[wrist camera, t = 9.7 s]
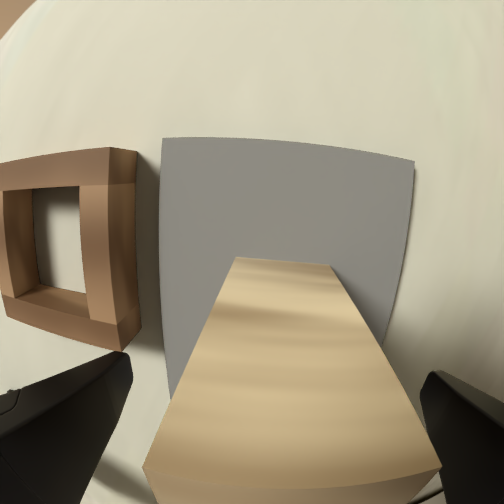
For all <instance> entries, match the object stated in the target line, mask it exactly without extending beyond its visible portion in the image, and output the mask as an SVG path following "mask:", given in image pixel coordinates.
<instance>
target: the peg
mask: <svg viewBox="0 0 504 504" xmlns="http://www.w3.org/2000/svg"><path fill="white" fill-rule="evenodd" d="M441 467H442V465H441V462H440V460H439V458H438V456H437V454H436V452H435V450H434V448H433V445H432V443H431V441H430V439H429V437H428V435H427V433H426V431H425V429H424V427H423V425H422V423H421V421H420V419H419V417H418V415H417V413H416V411H415V410H414V408H413V406H412V404H411V402H410V400H409V398H408V396H407V394H406V393H405V391H404V389H403V387H402V385H401V383H400V381H399V380H398V378H397V376H396V374H395V372H394V371H393V369H392V367H391V365H390V364H389V362H388V360H387V358H386V357H385V355H384V353H383V351H382V350H381V348H380V346H379V344H378V343H377V341H376V339H375V338H374V336H373V334H372V333H371V331H370V329H369V328H368V326H367V324H366V323H365V321H364V319H363V318H362V316H361V314H360V313H359V311H358V309H357V308H356V306H355V305H354V303H353V301H352V300H351V298H350V297H349V295H348V293H347V292H346V290H345V289H344V287H343V286H342V284H341V282H340V281H339V279H338V278H337V276H336V275H335V273H334V272H333V270H332V268H331V267H330V265H326V264H314V263H302V262H290V261H279V260H267V259H255V258H244V257H235V259H234V262H233V264H232V266H231V268H230V270H229V273H228V275H227V277H226V279H225V281H224V283H223V286H222V288H221V290H220V292H219V294H218V297H217V299H216V301H215V303H214V305H213V308H212V310H211V312H210V314H209V316H208V319H207V321H206V323H205V325H204V327H203V330H202V332H201V334H200V336H199V338H198V341H197V343H196V345H195V347H194V350H193V352H192V354H191V356H190V359H189V361H188V363H187V365H186V368H185V370H184V372H183V374H182V377H181V379H180V381H179V383H178V386H177V388H176V390H175V392H174V395H173V397H172V399H171V402H170V404H169V406H168V408H167V411H166V413H165V415H164V418H163V420H162V422H161V424H160V427H159V429H158V431H157V434H156V436H155V438H154V441H153V443H152V445H151V448H150V450H149V452H148V455H147V457H146V459H145V462H144V464H143V466H142V468H143V471H144V473H145V476H146V478H147V480H148V483H149V485H150V487H151V489H152V491H153V494H154V496H155V498H156V500H157V502H158V504H407V503H408V502H409V501H410V500H411V499H412V498H413V497H414V496H415V495H416V494H417V493H418V492H419V491H420V490H421V489H422V488H423V487H424V486H425V485H426V484H427V483H428V482H429V481H430V480H431V479H432V478H433V477H434V475H435V474H436V473H437V472H438V471H439V470H440V469H441Z"/></svg>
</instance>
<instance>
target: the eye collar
mask: <svg viewBox="0 0 504 504" xmlns="http://www.w3.org/2000/svg"><path fill="white" fill-rule="evenodd" d="M136 163H137V151H132V150H126V149H120V148H113V147H104V148H94V149H85V150H76V151H68V152H61V153H54V154H48V155H41V156H36V157H30V158H25V159H19V160H14V161H10V162H5V163H0V289H1V294H2V298H3V303H4V307H5V311H6V315H7V317H10V318H12V319H15V320H17V321H20V322H23V323H25V324H28V325H31V326H33V327H36V328H39V329H42V330H45V331H48V332H51V333H54V334H57V335H60V336H63V337H66V338H70V339H73V340H76V341H80V342H83V343H87V344H90V345H94V346H98V347H101V348H105V349H109V350H113V351H120V352H122V351H123V350H124V349H125V347H126V346H127V345H128V344H129V343H130V341H131V340H132V339H133V338H134V336H135V335H136V334H137V333H138V332H139V330H140V329H141V320H140V310H139V299H138V286H137V270H136V247H135V186H136ZM64 186H80V189H79V205H80V235H81V250H82V262H83V272H84V280H85V288H86V294H85V293H80V292H75V291H70V290H65V289H60V288H56V287H51V286H46V285H42V284H40V281H39V274H38V268H37V260H36V251H35V241H34V229H33V210H32V188H46V187H64Z"/></svg>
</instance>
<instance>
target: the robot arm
mask: <svg viewBox="0 0 504 504" xmlns="http://www.w3.org/2000/svg"><path fill="white" fill-rule="evenodd" d="M132 382H133V372H132V367H131V361H130V357H129V355H128V354H127V353H124V352H120V351H114V352H111V353H109V354H106V355H104V356H102V357H99V358H97V359H94V360H92V361H89V362H87V363H85V364H82V365H80V366H77V367H75V368H72V369H70V370H67V371H65V372H62V373H59V374H57V375H54V376H52V377H49V378H47V379H44V380H41V381H39V382H36V383H33V384H31V385H28V386H25V387H23V388H21V389H17V390H14V391H12V390H8V391H7V393H6V394H3V395H0V504H80V502H81V499H82V497H83V495H84V493H85V490H86V488H87V486H88V484H89V482H90V480H91V477H92V475H93V473H94V471H95V469H96V467H97V465H98V462H99V460H100V458H101V456H102V454H103V452H104V450H105V448H106V446H107V444H108V442H109V440H110V438H111V435H112V433H113V431H114V429H115V427H116V425H117V423H118V421H119V418H120V416H121V413H122V410H123V407H124V404H125V402H126V399H127V396H128V393H129V391H130V388H131V385H132ZM420 401H421V405H422V410H423V414H424V419H425V423H426V428H427V432H428V437H429V439H430V441H431V443H432V445H433V448H434V450H435V452H436V454H437V456H438V458H439V460H440V462H441V465H442V467H441V469H440V470H439V474H440V478H441V482H442V486H443V490H444V494H445V498H446V503H447V504H504V403H503V402H501V401H499V400H497V399H495V398H494V397H492V396H490V395H488V394H486V393H484V392H482V391H480V390H478V389H476V388H474V387H472V386H471V385H469V384H467V383H465V382H463V381H461V380H459V379H457V378H455V377H453V376H452V375H450V374H448V373H446V372H444V371H442V370H438V371H432V372H430V373H429V374H428V376H427V378H426V380H425V383H424V385H423V387H422V389H421V391H420Z"/></svg>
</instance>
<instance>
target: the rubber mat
mask: <svg viewBox="0 0 504 504" xmlns="http://www.w3.org/2000/svg"><path fill="white" fill-rule="evenodd" d="M414 163H415V161H412V160H407V159H403V158H398V157H393V156H388V155H383V154H377V153H372V152H366V151H360V150H354V149H347V148H341V147H334V146H326V145H318V144H309V143H300V142H289V141H278V140H264V139H246V138H215V137H181V138H163V139H162V152H161V169H160V192H159V273H160V296H161V313H162V327H163V339H164V349H165V359H166V368H167V377H168V384H169V392H170V399H172V397H173V395H174V392H175V390H176V388H177V386H178V383H179V381H180V379H181V377H182V374H183V372H184V370H185V368H186V365H187V363H188V361H189V359H190V356H191V354H192V352H193V350H194V347H195V345H196V343H197V341H198V338H199V336H200V334H201V332H202V330H203V327H204V325H205V323H206V321H207V319H208V316H209V314H210V312H211V310H212V308H213V305H214V303H215V301H216V299H217V297H218V294H219V292H220V290H221V288H222V286H223V283H224V281H225V279H226V277H227V275H228V273H229V270H230V268H231V266H232V264H233V262H234V259H235V257H244V258H255V259H267V260H279V261H290V262H302V263H314V264H326V265H330V267H331V268H332V270H333V272H334V273H335V275H336V276H337V278H338V279H339V281H340V282H341V284H342V286H343V287H344V289H345V290H346V292H347V293H348V295H349V297H350V298H351V300H352V301H353V303H354V305H355V306H356V308H357V309H358V311H359V313H360V314H361V316H362V318H363V319H364V321H365V323H366V324H367V326H368V328H369V329H370V331H371V333H372V334H373V336H374V338H375V339H376V341H377V343H378V344H379V346H380V348H381V347H382V343H383V340H384V337H385V333H386V330H387V326H388V322H389V319H390V315H391V311H392V307H393V303H394V299H395V295H396V290H397V286H398V281H399V277H400V272H401V267H402V262H403V256H404V250H405V245H406V238H407V232H408V225H409V217H410V209H411V200H412V190H413V178H414Z"/></svg>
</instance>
